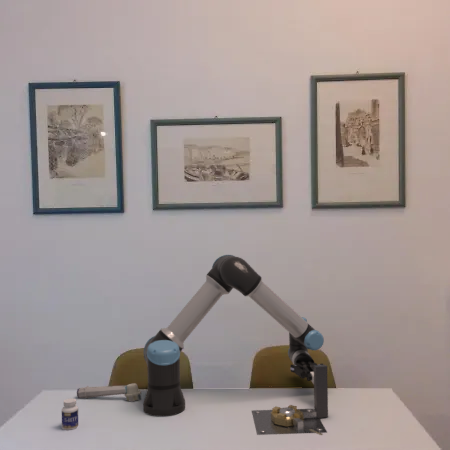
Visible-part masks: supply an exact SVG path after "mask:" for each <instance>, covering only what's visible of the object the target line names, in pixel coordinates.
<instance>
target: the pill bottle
mask: <svg viewBox="0 0 450 450" xmlns="http://www.w3.org/2000/svg"><path fill="white" fill-rule="evenodd" d="M78 427H79V407H78V405H77V399H76V398H71V397H70V398H66V399H64V400H63V407H62V408H61V428H62V430H64V431H71V430H75V429H77V428H78Z"/></svg>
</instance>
